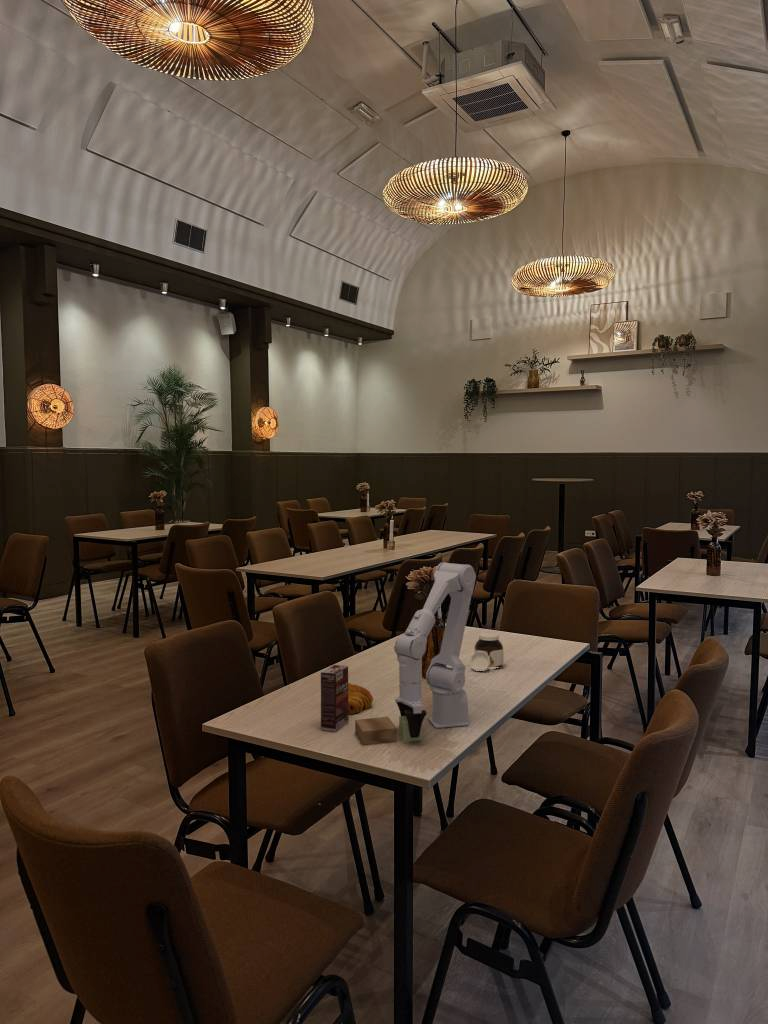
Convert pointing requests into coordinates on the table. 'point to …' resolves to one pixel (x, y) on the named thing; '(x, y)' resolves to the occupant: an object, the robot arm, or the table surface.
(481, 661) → the spread jar
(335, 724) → the supplement box
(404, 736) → the cube
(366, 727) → the block
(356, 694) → the croissant
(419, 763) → the table surface
